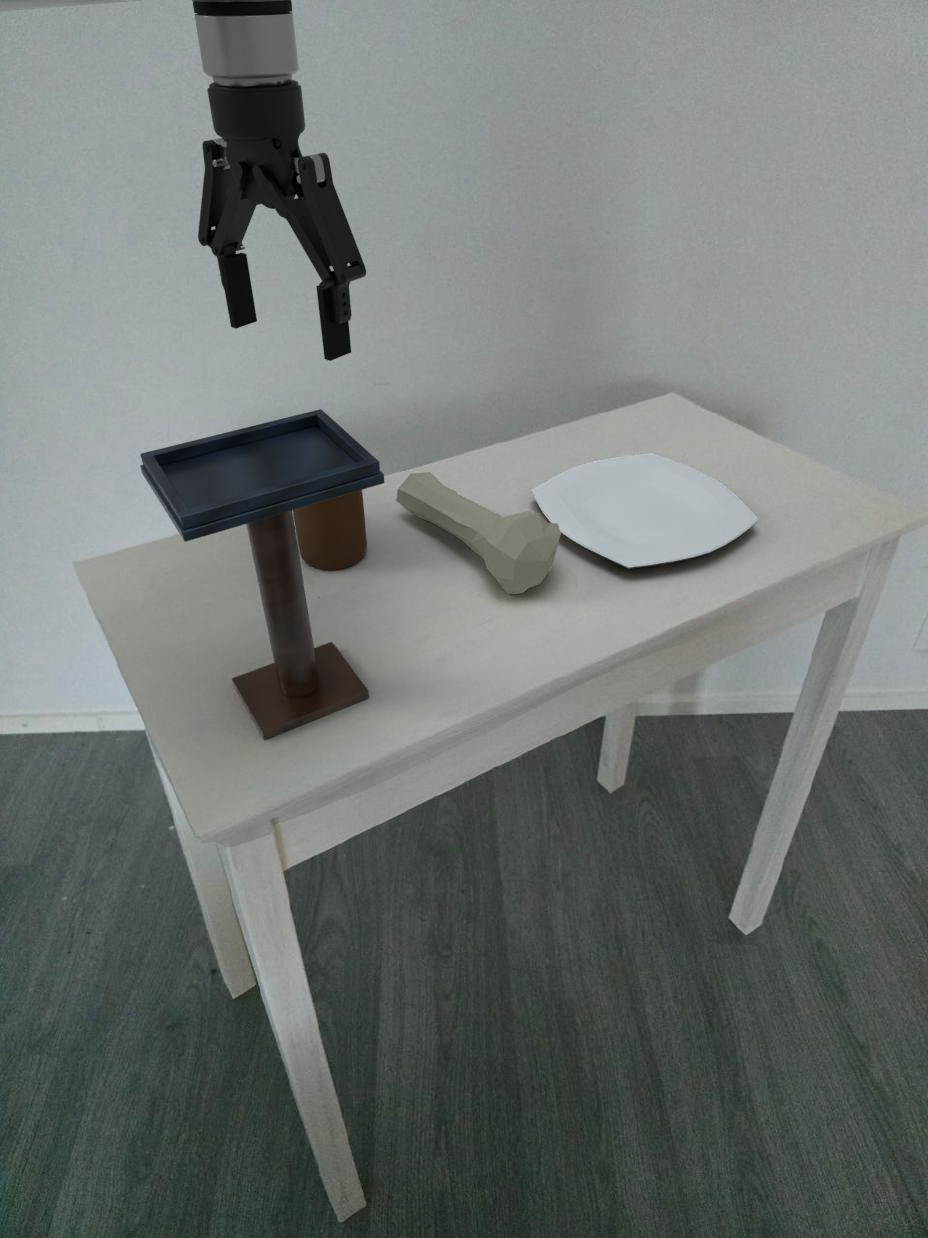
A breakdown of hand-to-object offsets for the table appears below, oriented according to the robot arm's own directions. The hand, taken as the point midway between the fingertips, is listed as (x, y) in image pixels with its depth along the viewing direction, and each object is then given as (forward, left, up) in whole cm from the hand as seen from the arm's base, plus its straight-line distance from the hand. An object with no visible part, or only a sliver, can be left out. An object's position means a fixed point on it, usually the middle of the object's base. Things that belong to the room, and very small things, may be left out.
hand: (289, 339), depth 81 cm
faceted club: (+16, +8, -24) cm, 30 cm away
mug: (+1, 0, -24) cm, 24 cm away
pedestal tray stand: (+14, -20, -24) cm, 34 cm away
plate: (+30, +23, -24) cm, 45 cm away
